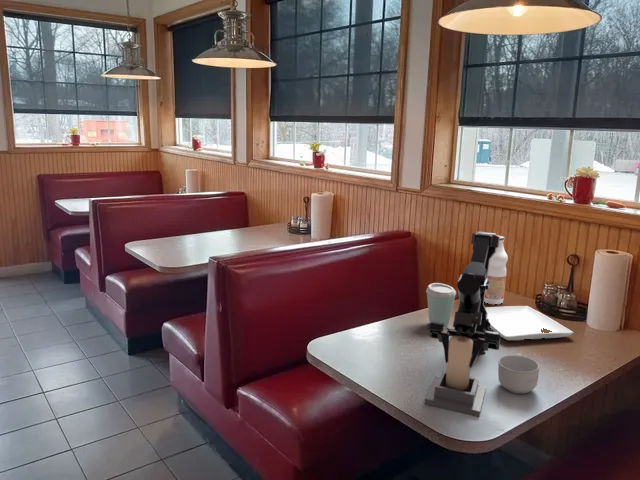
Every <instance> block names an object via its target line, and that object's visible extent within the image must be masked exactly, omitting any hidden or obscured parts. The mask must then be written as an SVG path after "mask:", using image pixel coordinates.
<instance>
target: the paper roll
mask: <svg viewBox="0 0 640 480" xmlns="http://www.w3.org/2000/svg"><path fill="white" fill-rule="evenodd" d="M472 348H473V341H472V340H471V339H470V338H467V337H464V336H450V337H449V352H448V362H447V363H446V364H447V365H446V372H447V374H446V386H447V387H448V388H451V389H456V390H460V391H464V390H467V389H468V387H469V377H471V368H470V363H471V358H472V355H473V354H472Z"/></svg>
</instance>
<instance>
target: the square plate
mask: <svg viewBox="0 0 640 480" xmlns="http://www.w3.org/2000/svg"><path fill="white" fill-rule="evenodd" d="M485 309H486V311H487V313H488V315H487V319H489V322H490V324H491V325H490V328H491V329H490V330H491V331H492V332H497V333H499V334H500V338H503V339H504V340H506V341H525V340H524V339H531V340H541V339H542V338H545V339H556V338H565V337H569V336H571V335H573V334H574V331H572V330H570V329H569V328H567V327H565V326H564V325H562V323H561V324H560V322H557V321H556V320H555V319H552V318H550V317H549V316H547V315H545V314H543V313H542V312H540V311H538V310H536V309H534V308H532V307H531V306H528V305H509V306H507V305H506V306H505V305H504V306H489V307H488V306H487V307H486V306H485ZM543 328H544V329H547V330H550V331H552V332H549V333H544V332H543V333H542V332H541V329H542V330H543ZM542 340H543V339H542Z"/></svg>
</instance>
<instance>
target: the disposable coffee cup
mask: <svg viewBox="0 0 640 480" xmlns="http://www.w3.org/2000/svg"><path fill="white" fill-rule="evenodd" d="M425 290H426V291H425V293H426V297H427V298H426V299H427V309H428V320H429V321H428V322H429V323H430V322H432V321H434V322H440V323H444V326H445V328H448V326H449V324H450V318H451V316H452V315H451V314H452V310H453V307H454V302H455V298H456V295H457V291H456V290H455V288H454V287H453V286H450V285H449V284H445V283H441V282H433V283H430V284H428V286H427V287H426V289H425Z"/></svg>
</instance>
